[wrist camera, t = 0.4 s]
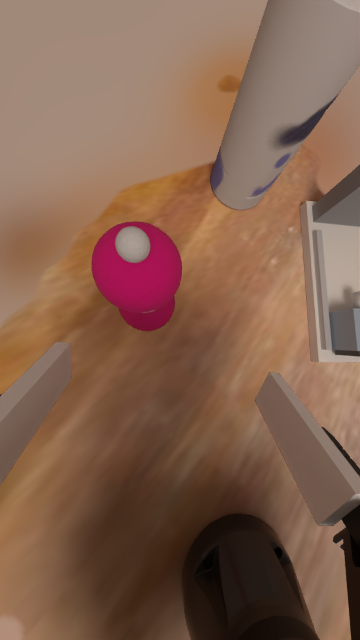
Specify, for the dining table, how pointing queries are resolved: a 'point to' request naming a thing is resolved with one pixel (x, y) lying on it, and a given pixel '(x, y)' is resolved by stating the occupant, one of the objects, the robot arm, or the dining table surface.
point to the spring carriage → (346, 329)
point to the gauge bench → (331, 261)
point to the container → (285, 92)
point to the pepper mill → (138, 273)
